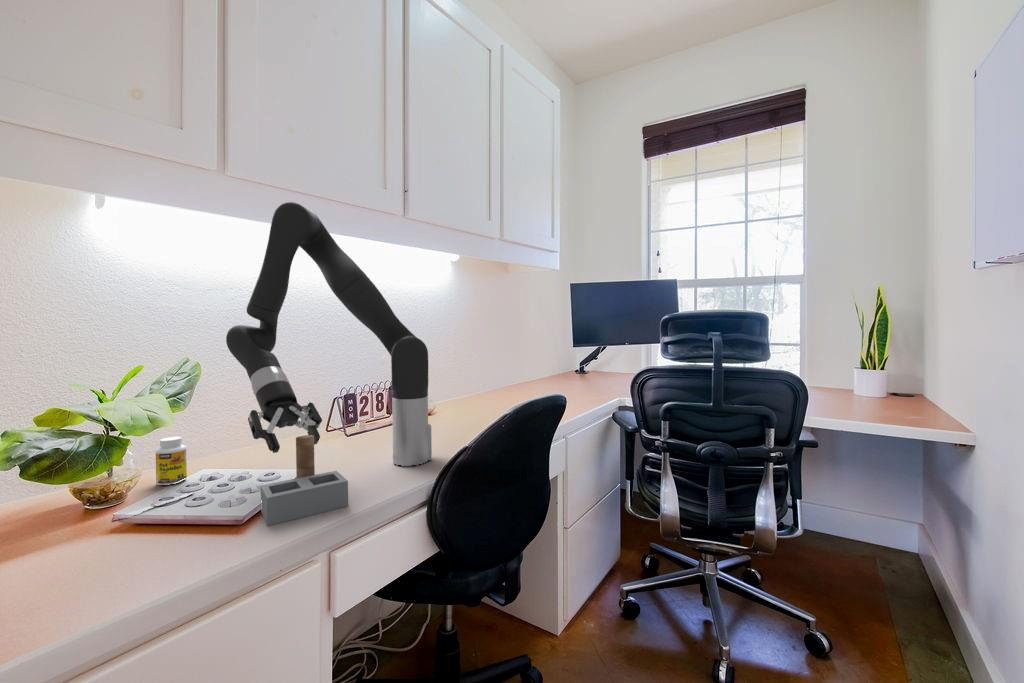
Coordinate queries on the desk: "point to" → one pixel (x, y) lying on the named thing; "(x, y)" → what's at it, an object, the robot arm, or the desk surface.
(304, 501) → the bore block
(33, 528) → the desk surface
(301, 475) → the walnut pin
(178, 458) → the supplement bottle
